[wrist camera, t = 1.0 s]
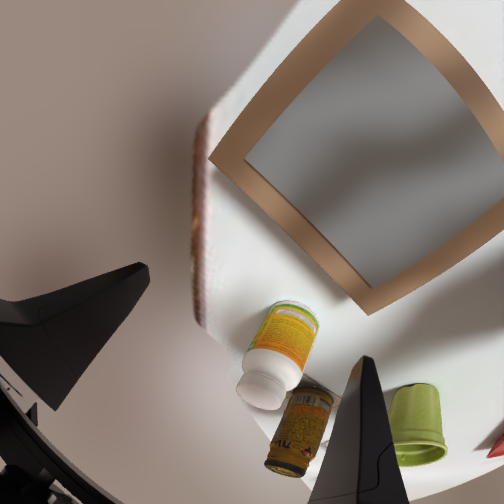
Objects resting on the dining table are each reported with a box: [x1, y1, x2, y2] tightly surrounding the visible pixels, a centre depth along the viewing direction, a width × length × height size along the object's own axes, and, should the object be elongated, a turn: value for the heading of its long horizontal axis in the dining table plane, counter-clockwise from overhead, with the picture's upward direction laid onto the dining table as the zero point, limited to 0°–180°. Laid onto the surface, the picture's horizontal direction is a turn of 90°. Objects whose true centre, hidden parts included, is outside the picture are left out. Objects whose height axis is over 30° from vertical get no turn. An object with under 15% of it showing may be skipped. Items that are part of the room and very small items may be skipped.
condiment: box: [264, 374, 341, 478], centre depth 30 cm, size 7×8×12 cm
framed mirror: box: [208, 0, 504, 316], centre depth 15 cm, size 16×16×4 cm
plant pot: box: [388, 384, 448, 467], centre depth 24 cm, size 9×9×9 cm
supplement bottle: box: [236, 301, 319, 410], centre depth 24 cm, size 5×5×10 cm
